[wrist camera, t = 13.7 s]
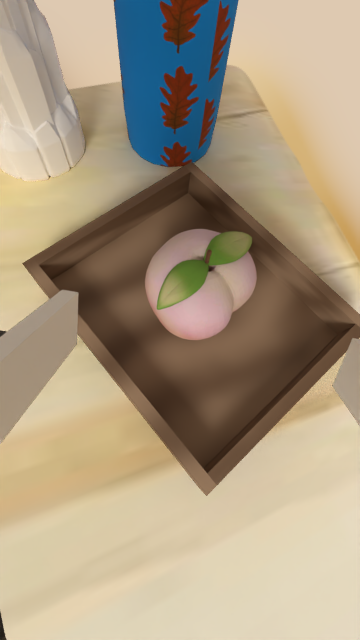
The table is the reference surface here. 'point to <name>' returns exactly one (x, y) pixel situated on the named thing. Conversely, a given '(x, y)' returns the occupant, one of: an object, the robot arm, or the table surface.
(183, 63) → the thermos
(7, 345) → the robot arm
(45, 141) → the decorative vase
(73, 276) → the walnut tray
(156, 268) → the decorative fruit
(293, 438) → the table surface
